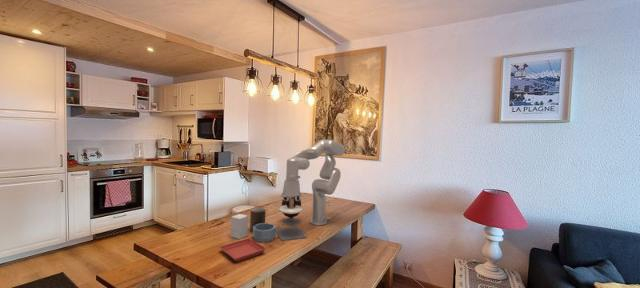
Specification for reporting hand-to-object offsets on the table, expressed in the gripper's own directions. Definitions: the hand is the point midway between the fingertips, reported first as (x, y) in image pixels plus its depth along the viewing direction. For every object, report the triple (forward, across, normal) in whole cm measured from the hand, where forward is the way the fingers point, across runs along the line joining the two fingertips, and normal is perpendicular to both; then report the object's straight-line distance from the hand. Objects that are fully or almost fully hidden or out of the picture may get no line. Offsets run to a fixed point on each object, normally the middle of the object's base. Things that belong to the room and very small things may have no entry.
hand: (291, 206), depth 170 cm
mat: (+18, 0, -1) cm, 18 cm away
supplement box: (+18, +31, -5) cm, 36 cm away
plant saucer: (+19, +31, +18) cm, 40 cm away
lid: (+3, 0, 0) cm, 3 cm away
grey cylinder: (+18, +19, -12) cm, 29 cm away
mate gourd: (+18, -6, -22) cm, 29 cm away
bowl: (+18, +17, +2) cm, 25 cm away
